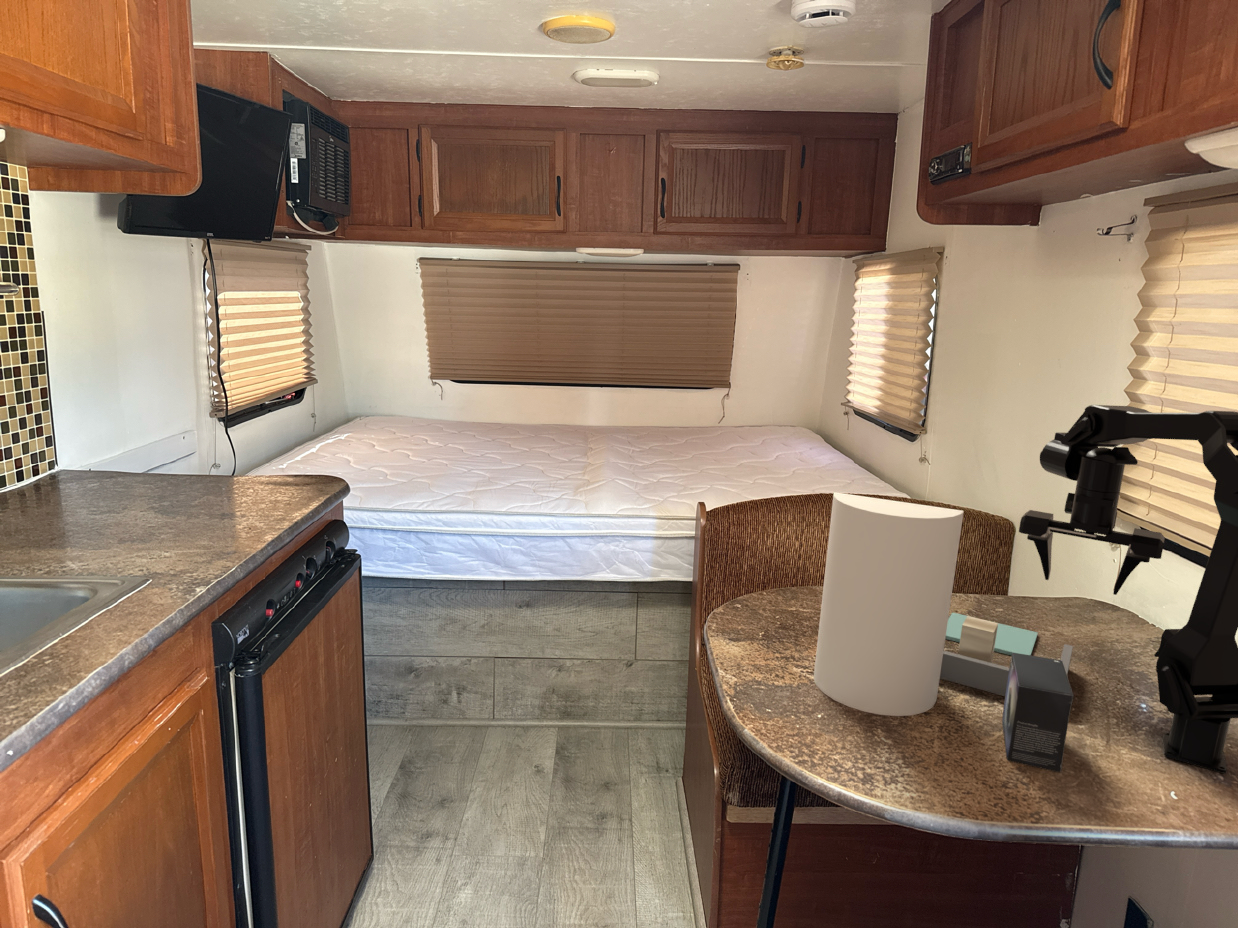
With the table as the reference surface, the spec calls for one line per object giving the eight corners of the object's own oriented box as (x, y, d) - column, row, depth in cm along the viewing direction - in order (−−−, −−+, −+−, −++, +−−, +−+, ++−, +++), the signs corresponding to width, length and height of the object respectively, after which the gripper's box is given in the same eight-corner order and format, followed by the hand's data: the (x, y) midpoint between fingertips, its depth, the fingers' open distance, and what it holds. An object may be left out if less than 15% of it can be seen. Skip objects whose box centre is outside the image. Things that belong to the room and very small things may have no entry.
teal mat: (1029, 659, 129) (1029, 656, 129) (938, 636, 137) (938, 633, 137) (1037, 635, 139) (1037, 632, 139) (952, 615, 147) (952, 612, 146)
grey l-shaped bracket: (1059, 711, 113) (1064, 685, 112) (879, 661, 126) (882, 637, 125) (1068, 669, 127) (1072, 645, 126) (904, 627, 140) (907, 606, 139)
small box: (998, 720, 110) (1009, 649, 108) (1051, 732, 107) (1064, 659, 105) (1003, 760, 100) (1016, 682, 98) (1062, 773, 98) (1076, 694, 96)
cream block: (987, 675, 123) (993, 632, 122) (956, 666, 126) (962, 624, 124) (991, 664, 127) (998, 623, 126) (961, 656, 129) (967, 616, 128)
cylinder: (931, 728, 107) (961, 525, 101) (802, 695, 114) (822, 504, 108) (940, 675, 122) (966, 497, 116) (825, 650, 129) (844, 480, 123)
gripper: (1173, 490, 122) (1154, 587, 125) (1037, 470, 132) (1022, 560, 136) (1171, 503, 113) (1151, 607, 116) (1026, 480, 123) (1010, 577, 127)
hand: (1080, 586), depth 124 cm, fingers open, 9 cm apart
